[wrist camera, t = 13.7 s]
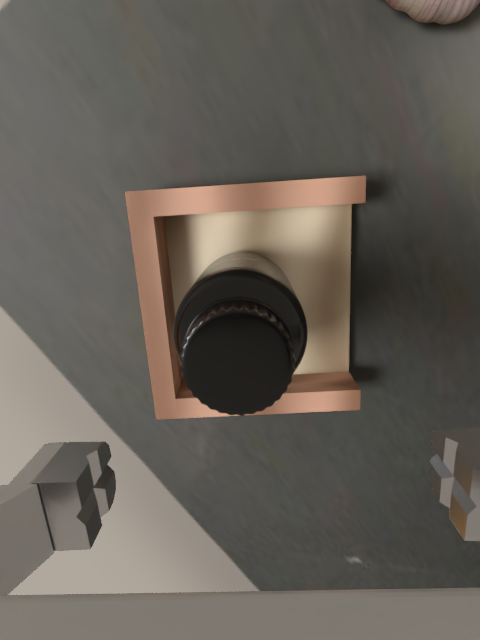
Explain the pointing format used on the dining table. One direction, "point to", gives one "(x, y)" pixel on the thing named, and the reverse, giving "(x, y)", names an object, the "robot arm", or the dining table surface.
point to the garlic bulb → (435, 9)
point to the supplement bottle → (240, 334)
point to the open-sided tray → (262, 238)
